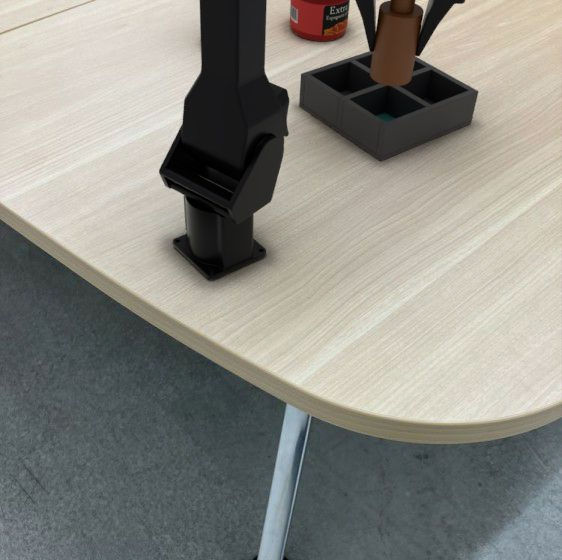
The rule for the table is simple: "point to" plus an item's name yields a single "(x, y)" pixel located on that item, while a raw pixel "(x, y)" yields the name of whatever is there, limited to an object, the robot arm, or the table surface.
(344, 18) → the canned food
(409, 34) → the spice bottle
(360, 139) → the holder
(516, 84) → the table surface
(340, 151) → the table surface
